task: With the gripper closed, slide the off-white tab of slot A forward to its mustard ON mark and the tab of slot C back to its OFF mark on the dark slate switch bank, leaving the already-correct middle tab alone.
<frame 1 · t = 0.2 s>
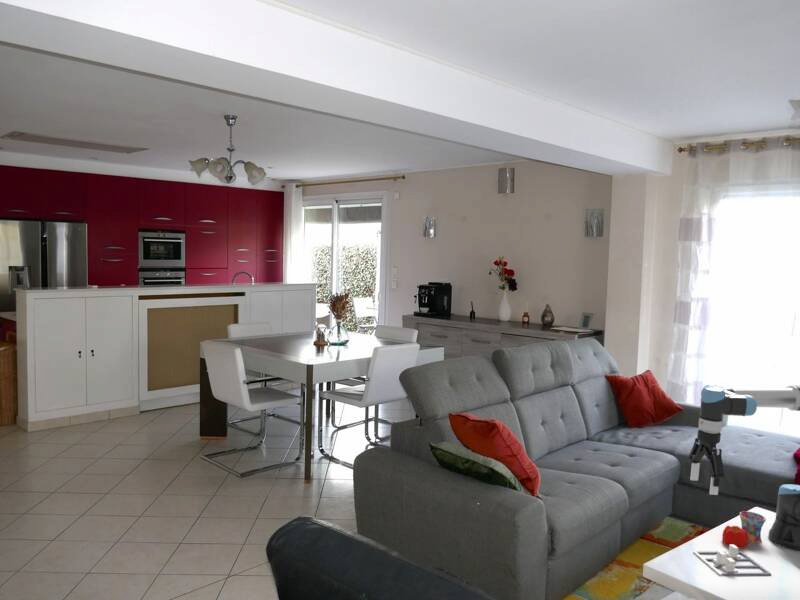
hand: (703, 487, 233), 27 cm above the table, fingers open, 13 cm apart
tab a: (733, 551, 236), point 4 cm above the table, slide at -4.0 cm
tab b: (721, 558, 230), point 4 cm above the table, slide at 4.0 cm
mug: (751, 541, 254), on the table
tab c: (730, 565, 225), point 4 cm above the table, slide at 4.0 cm
switch bank: (730, 567, 230), on the table
tomato: (733, 547, 248), on the table
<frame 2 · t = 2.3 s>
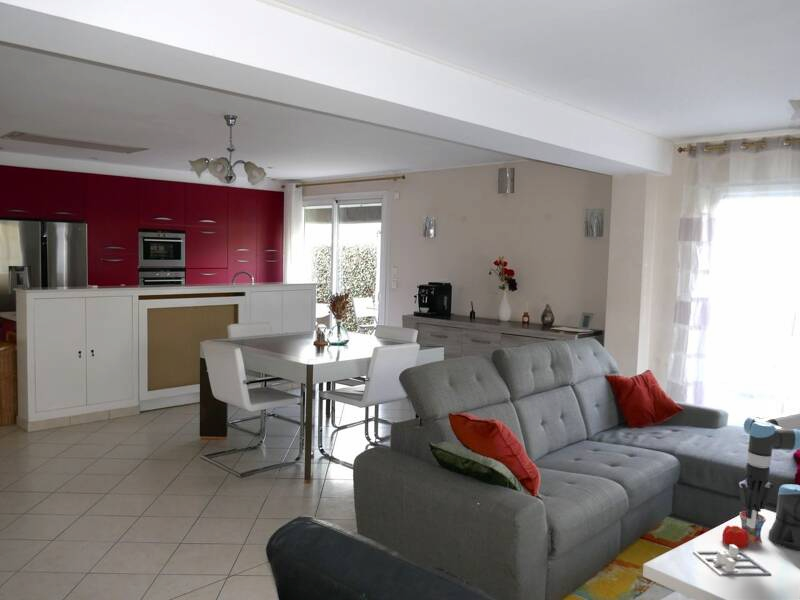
hand: (750, 526, 235), 13 cm above the table, fingers closed
nothing on the table moved.
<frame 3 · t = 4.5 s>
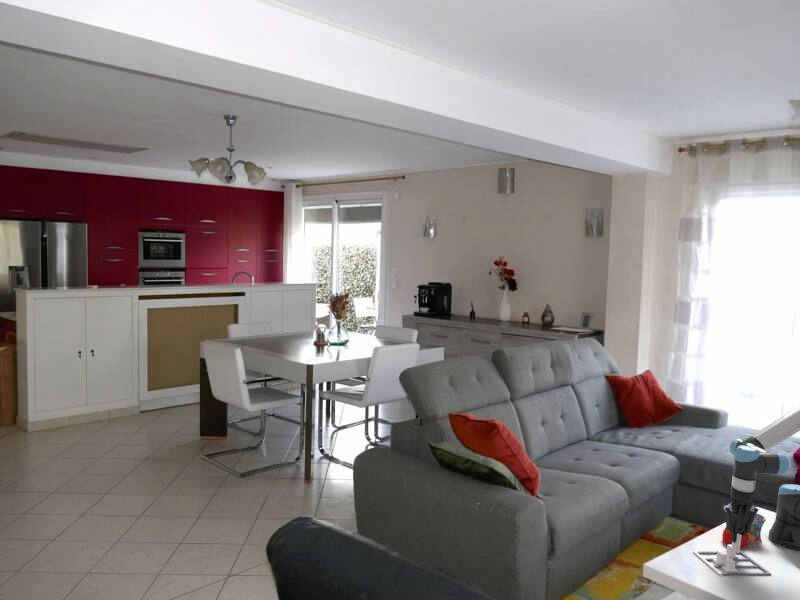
hand: (735, 550, 236), 4 cm above the table, fingers closed
tab a: (731, 551, 235), point 4 cm above the table, slide at -3.2 cm, touching gripper
everything else where it was.
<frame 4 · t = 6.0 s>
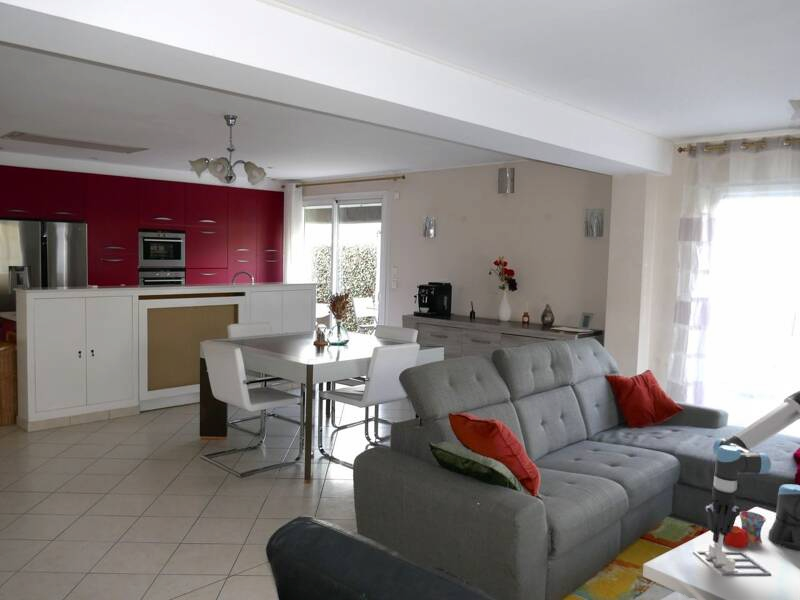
hand: (717, 550, 235), 4 cm above the table, fingers closed
tab a: (713, 551, 235), point 4 cm above the table, slide at 3.9 cm, touching gripper
everything else where it was.
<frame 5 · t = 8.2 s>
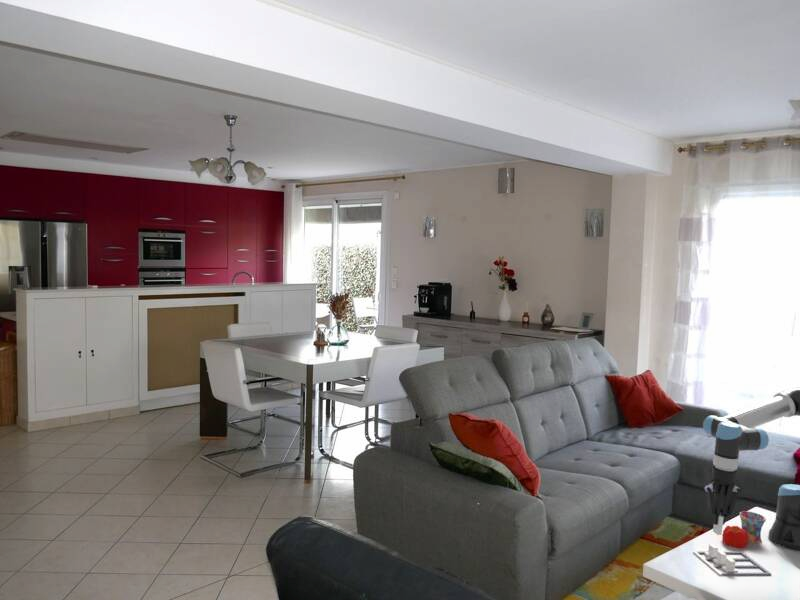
hand: (717, 533, 223), 15 cm above the table, fingers closed
tab a: (712, 551, 235), point 4 cm above the table, slide at 4.1 cm
everything else where it was.
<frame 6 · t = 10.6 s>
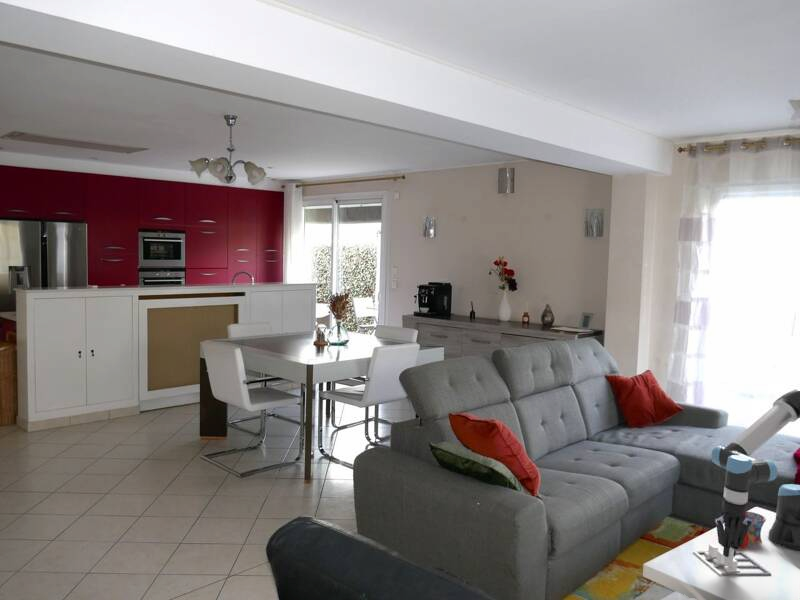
hand: (728, 564, 225), 4 cm above the table, fingers closed
tab c: (732, 565, 225), point 4 cm above the table, slide at 3.1 cm, touching gripper
everything else where it was.
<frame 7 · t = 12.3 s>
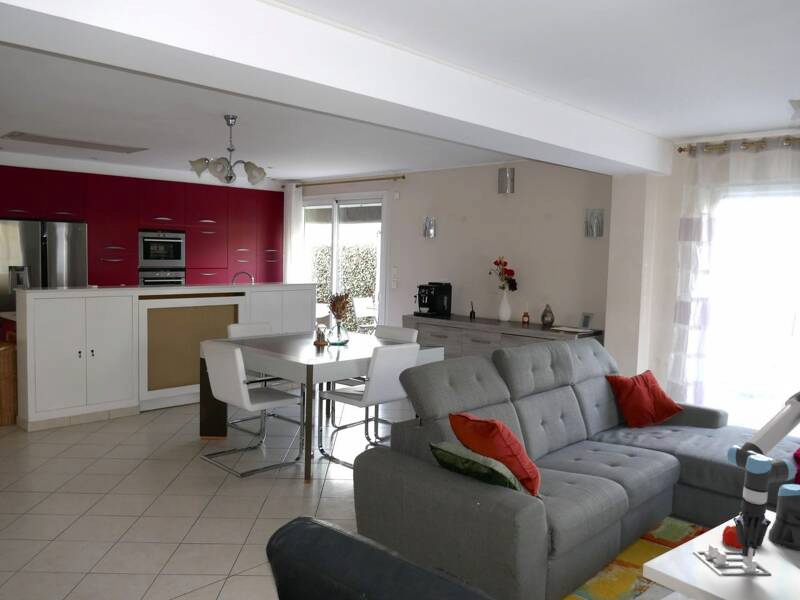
hand: (747, 564, 226), 4 cm above the table, fingers closed
tab c: (751, 565, 226), point 4 cm above the table, slide at -4.1 cm, touching gripper
everything else where it was.
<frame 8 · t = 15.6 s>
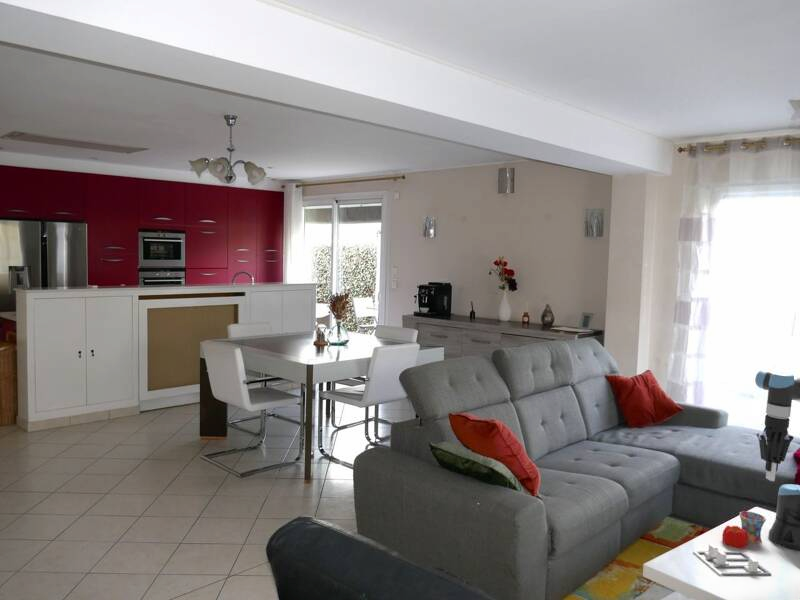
hand: (770, 479, 231), 32 cm above the table, fingers closed
tab c: (753, 565, 226), point 4 cm above the table, slide at -4.7 cm
everything else where it was.
at the end: tab a slide at 4.1 cm; tab c slide at -4.7 cm; tab b slide at 4.0 cm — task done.
